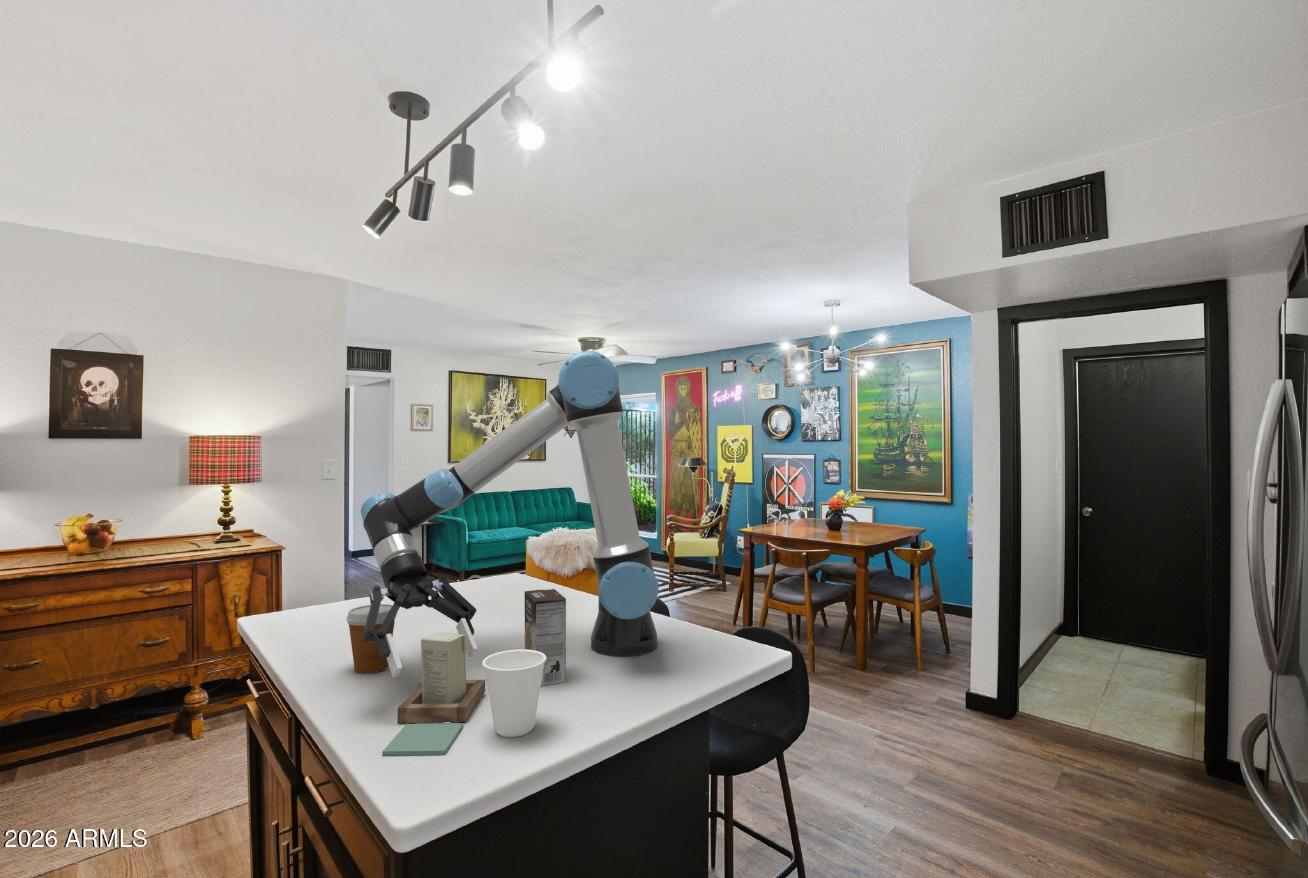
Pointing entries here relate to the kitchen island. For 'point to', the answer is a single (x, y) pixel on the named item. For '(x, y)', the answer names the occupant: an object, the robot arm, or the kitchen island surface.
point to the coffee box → (547, 631)
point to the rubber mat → (423, 739)
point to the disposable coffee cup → (366, 652)
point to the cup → (514, 689)
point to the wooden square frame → (441, 706)
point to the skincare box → (443, 668)
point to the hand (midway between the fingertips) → (437, 662)
